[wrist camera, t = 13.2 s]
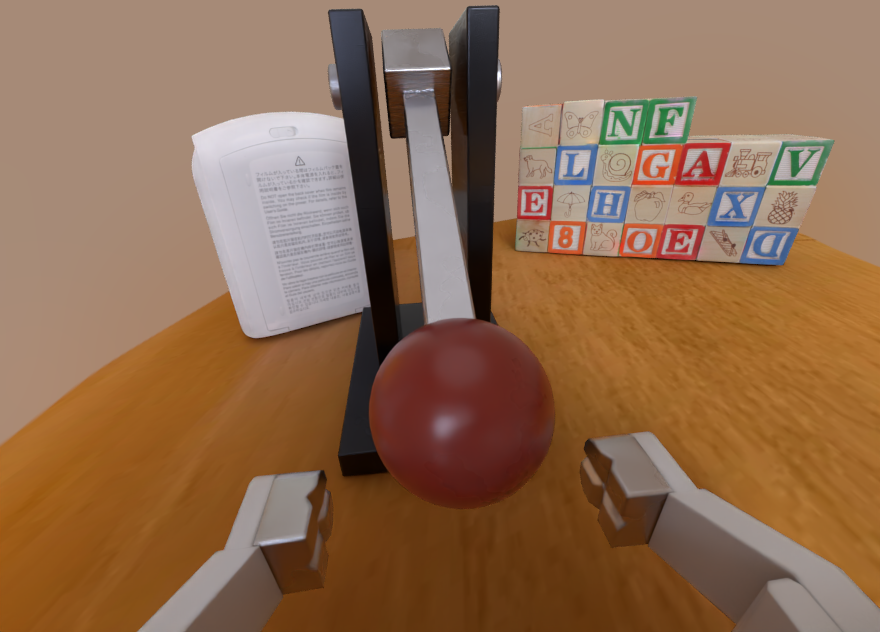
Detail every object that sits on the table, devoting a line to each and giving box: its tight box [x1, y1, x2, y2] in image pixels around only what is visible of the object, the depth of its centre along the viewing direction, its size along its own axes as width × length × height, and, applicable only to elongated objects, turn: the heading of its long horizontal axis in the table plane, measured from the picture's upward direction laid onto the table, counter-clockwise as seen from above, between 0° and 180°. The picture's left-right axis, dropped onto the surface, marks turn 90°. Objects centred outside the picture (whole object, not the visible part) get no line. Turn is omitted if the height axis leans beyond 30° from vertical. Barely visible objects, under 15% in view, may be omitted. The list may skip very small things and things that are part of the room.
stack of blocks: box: [515, 96, 834, 265], centre depth 33 cm, size 21×6×12 cm, turn 73°
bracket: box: [328, 5, 502, 476], centre depth 16 cm, size 12×8×15 cm, turn 6°
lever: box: [369, 28, 555, 509], centre depth 10 cm, size 15×4×4 cm, turn 7°
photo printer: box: [192, 112, 371, 338], centre depth 23 cm, size 10×4×12 cm, turn 121°
